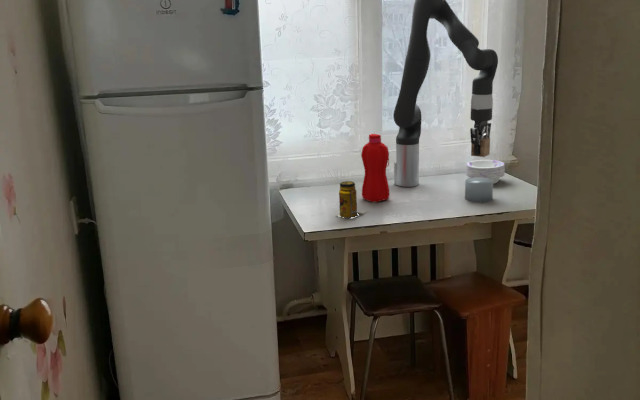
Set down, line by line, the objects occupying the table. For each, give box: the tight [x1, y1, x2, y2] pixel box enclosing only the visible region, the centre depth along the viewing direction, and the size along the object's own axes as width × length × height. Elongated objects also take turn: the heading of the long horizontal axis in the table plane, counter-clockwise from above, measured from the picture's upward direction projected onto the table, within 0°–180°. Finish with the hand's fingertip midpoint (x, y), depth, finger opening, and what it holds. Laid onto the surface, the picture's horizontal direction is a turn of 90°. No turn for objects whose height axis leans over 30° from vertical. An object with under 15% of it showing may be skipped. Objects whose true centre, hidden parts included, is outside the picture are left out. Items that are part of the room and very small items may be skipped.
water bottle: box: [360, 133, 390, 203], centre depth 227 cm, size 9×11×25 cm
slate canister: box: [464, 177, 494, 204], centre depth 224 cm, size 10×10×7 cm
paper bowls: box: [465, 159, 506, 185], centre depth 247 cm, size 15×15×8 cm
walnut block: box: [470, 137, 491, 158], centre depth 220 cm, size 5×5×6 cm
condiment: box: [338, 180, 365, 219], centre depth 211 cm, size 7×8×12 cm
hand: (480, 153), depth 220 cm, fingers closed on walnut block, 5 cm apart
